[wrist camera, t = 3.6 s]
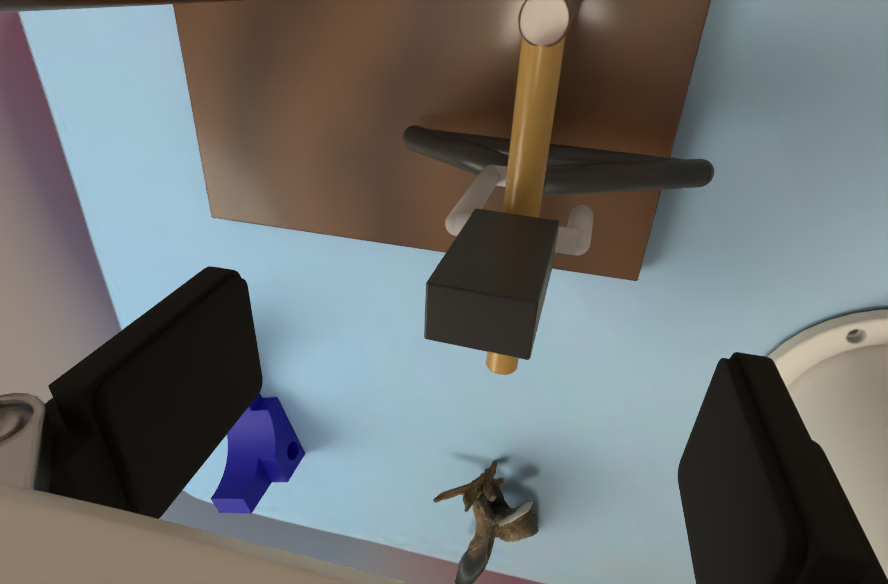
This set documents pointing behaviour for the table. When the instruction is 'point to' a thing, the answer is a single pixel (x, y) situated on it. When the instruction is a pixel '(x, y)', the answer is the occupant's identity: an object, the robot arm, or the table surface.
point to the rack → (427, 109)
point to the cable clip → (257, 456)
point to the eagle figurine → (489, 521)
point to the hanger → (520, 234)
